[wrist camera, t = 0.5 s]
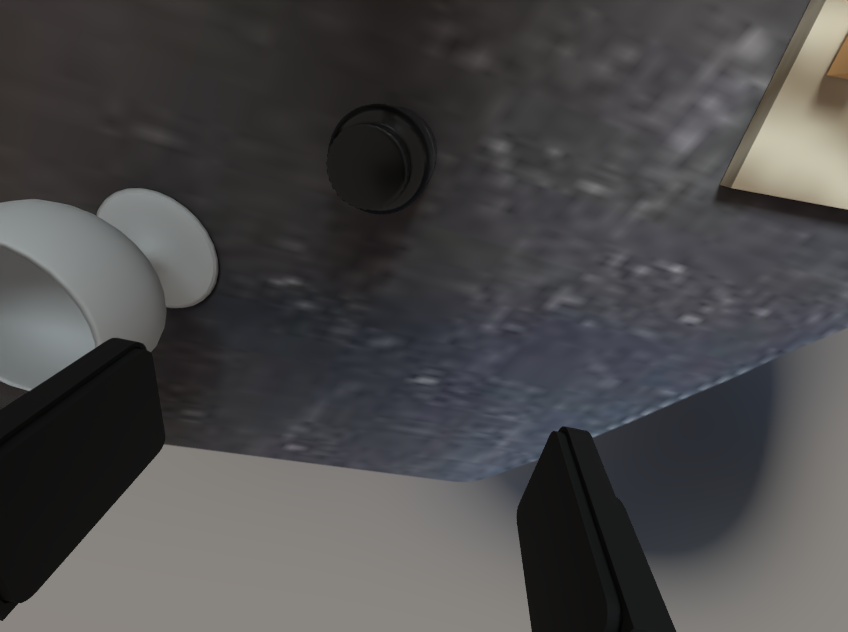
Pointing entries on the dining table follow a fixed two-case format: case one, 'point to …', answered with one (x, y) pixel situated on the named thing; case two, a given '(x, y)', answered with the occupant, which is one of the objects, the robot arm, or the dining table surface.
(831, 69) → the link
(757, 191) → the pivot board
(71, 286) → the chalice
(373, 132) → the supplement bottle
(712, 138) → the dining table surface
